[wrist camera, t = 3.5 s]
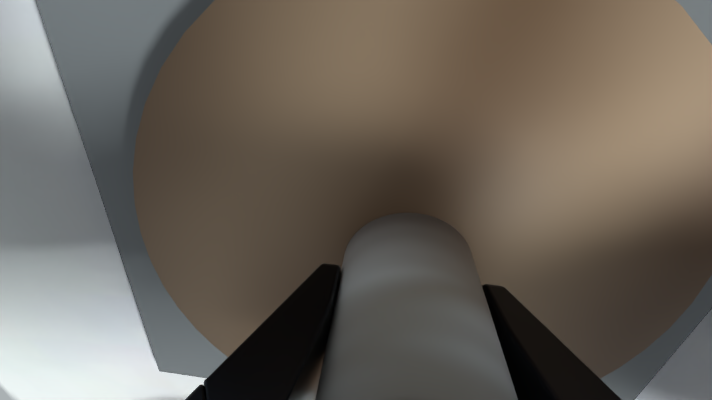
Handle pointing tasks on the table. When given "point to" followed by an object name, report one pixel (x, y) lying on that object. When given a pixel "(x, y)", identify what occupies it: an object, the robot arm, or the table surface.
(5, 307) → the table surface
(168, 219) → the lid
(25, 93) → the table surface
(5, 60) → the table surface
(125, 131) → the mat
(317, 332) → the robot arm
